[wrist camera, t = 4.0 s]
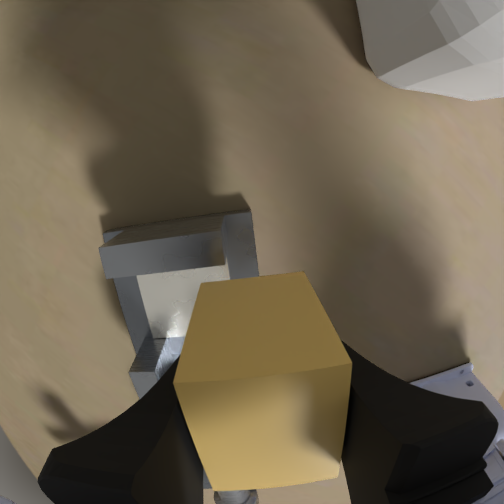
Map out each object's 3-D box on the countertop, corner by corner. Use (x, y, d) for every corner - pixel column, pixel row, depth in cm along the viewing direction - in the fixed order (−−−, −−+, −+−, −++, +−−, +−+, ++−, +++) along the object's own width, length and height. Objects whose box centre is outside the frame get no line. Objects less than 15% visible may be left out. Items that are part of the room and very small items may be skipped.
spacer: (303, 271, 12) (352, 363, 7) (307, 372, 14) (337, 477, 8) (200, 282, 12) (172, 382, 6) (220, 382, 14) (213, 491, 8)
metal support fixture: (250, 209, 19) (254, 226, 14) (282, 476, 26) (287, 512, 22) (108, 229, 19) (73, 251, 14) (196, 481, 26) (193, 517, 22)
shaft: (237, 393, 21) (237, 434, 17) (257, 484, 25) (259, 516, 21) (182, 396, 21) (174, 436, 17) (217, 487, 25) (216, 518, 21)
